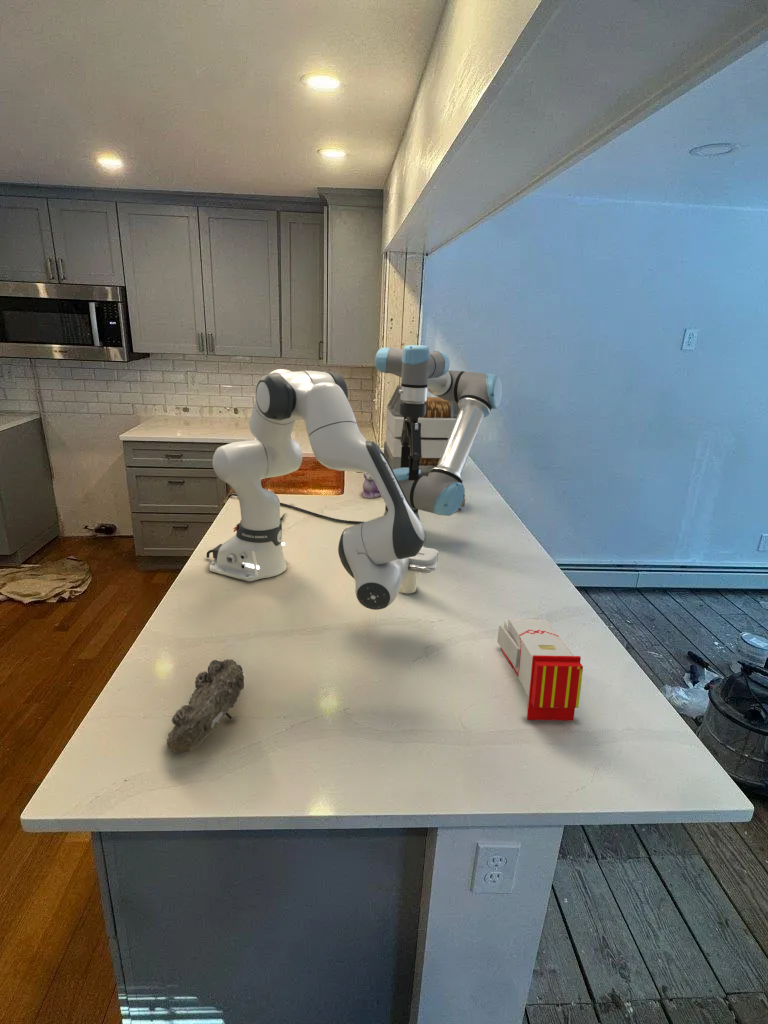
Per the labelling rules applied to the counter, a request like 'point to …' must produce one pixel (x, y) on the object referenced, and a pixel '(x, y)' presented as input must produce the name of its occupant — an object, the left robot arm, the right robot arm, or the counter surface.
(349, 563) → the left robot arm
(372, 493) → the figurine
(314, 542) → the counter surface
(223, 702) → the fossil
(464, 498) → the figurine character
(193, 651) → the counter surface
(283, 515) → the feather
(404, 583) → the jar
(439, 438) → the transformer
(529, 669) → the toy
